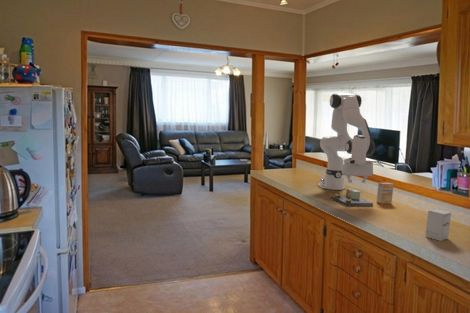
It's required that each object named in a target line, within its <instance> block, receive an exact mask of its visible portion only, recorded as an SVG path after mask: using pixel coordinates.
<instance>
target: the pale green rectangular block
mask: <svg viewBox="0 0 470 313" xmlns="http://www.w3.org/2000/svg"><path fill="white" fill-rule="evenodd" d="M351 198H352V199H360V198H361V191H359V190H356V189H354V190H351Z"/></svg>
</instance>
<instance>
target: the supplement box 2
mask: <svg viewBox="0 0 470 313" xmlns="http://www.w3.org/2000/svg"><path fill="white" fill-rule="evenodd" d="M451 217H452V212H451V211H447V210H441V209H437V208H436V209H430V210H428V211H427V217H426V218H427V220H426V226H425V227H426V228H425V238H428V237H429V239H431V238H432V240H435V239H436V241H438V240H439V242H441V241H445V240H448V239H449V234H450V227H451Z"/></svg>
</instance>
